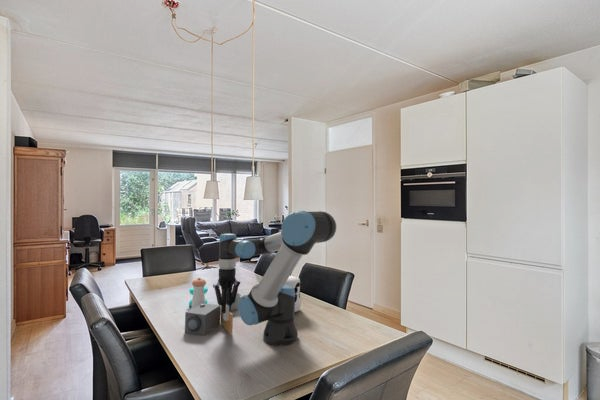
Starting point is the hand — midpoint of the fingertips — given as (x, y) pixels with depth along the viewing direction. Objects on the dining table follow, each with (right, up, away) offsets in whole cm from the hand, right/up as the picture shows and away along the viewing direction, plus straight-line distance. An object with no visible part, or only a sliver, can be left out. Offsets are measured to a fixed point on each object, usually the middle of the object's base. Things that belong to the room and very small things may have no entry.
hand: (226, 319), depth 143 cm
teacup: (-6, -6, +32) cm, 33 cm away
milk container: (+26, -7, +30) cm, 40 cm away
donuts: (-24, -6, +36) cm, 44 cm away
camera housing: (-12, -5, +3) cm, 14 cm away
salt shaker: (-20, -6, +22) cm, 30 cm away
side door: (-1, -5, +4) cm, 7 cm away
